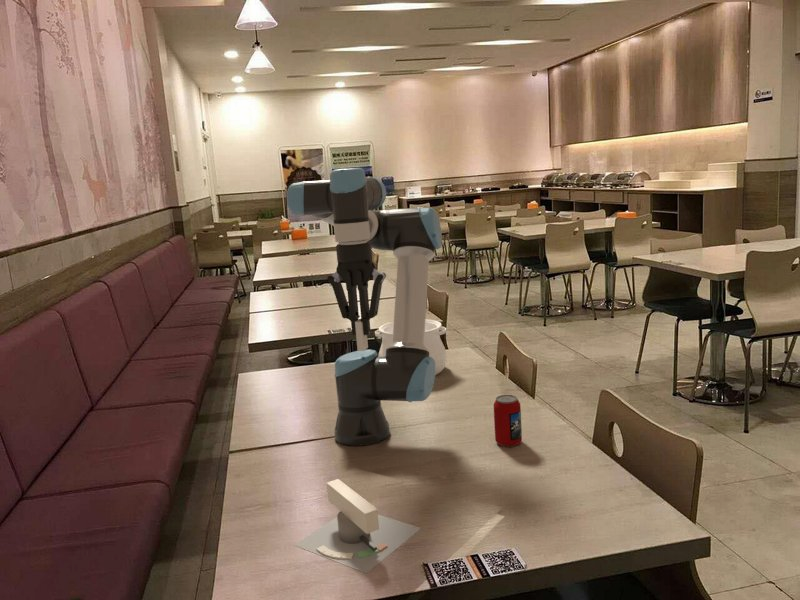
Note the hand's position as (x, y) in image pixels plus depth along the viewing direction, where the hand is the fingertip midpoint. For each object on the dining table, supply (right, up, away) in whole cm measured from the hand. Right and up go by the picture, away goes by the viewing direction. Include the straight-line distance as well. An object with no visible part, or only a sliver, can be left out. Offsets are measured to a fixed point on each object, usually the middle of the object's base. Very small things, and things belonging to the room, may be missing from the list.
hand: (362, 349), depth 144 cm
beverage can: (+36, -26, +24) cm, 50 cm away
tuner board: (0, -36, -17) cm, 40 cm away
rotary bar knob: (-1, -35, -16) cm, 39 cm away
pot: (+13, -15, +91) cm, 93 cm away
